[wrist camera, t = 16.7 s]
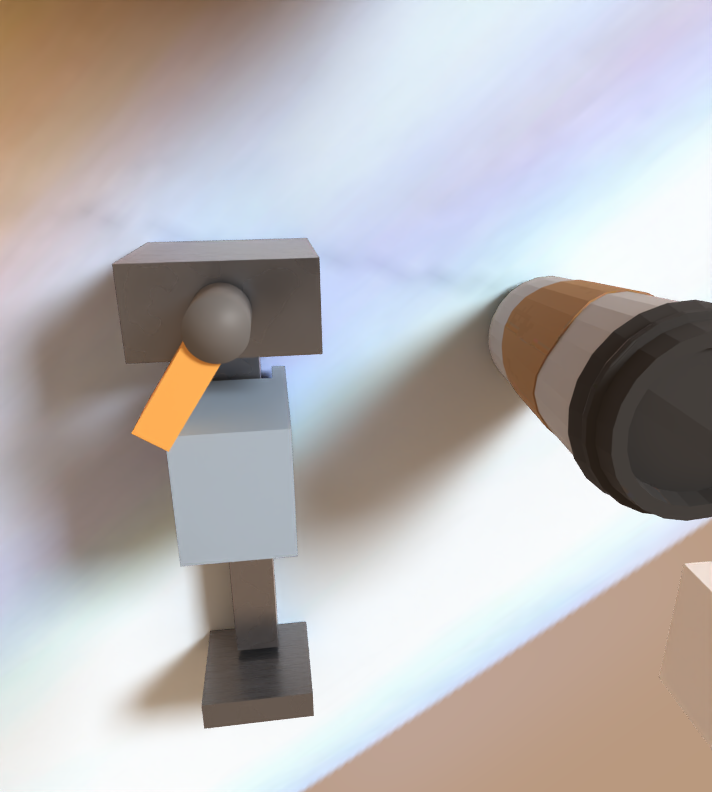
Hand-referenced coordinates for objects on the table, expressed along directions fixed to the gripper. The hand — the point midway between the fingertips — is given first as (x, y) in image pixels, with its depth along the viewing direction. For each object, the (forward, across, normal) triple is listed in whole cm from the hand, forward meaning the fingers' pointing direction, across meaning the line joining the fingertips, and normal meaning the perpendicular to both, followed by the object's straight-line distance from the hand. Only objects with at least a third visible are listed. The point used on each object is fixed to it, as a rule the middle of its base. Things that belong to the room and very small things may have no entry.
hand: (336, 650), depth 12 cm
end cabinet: (+25, -3, +2) cm, 25 cm away
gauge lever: (+16, -4, +1) cm, 17 cm away
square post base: (+24, -3, -21) cm, 32 cm away
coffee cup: (+25, +14, -1) cm, 29 cm away
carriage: (+24, -3, -6) cm, 25 cm away
